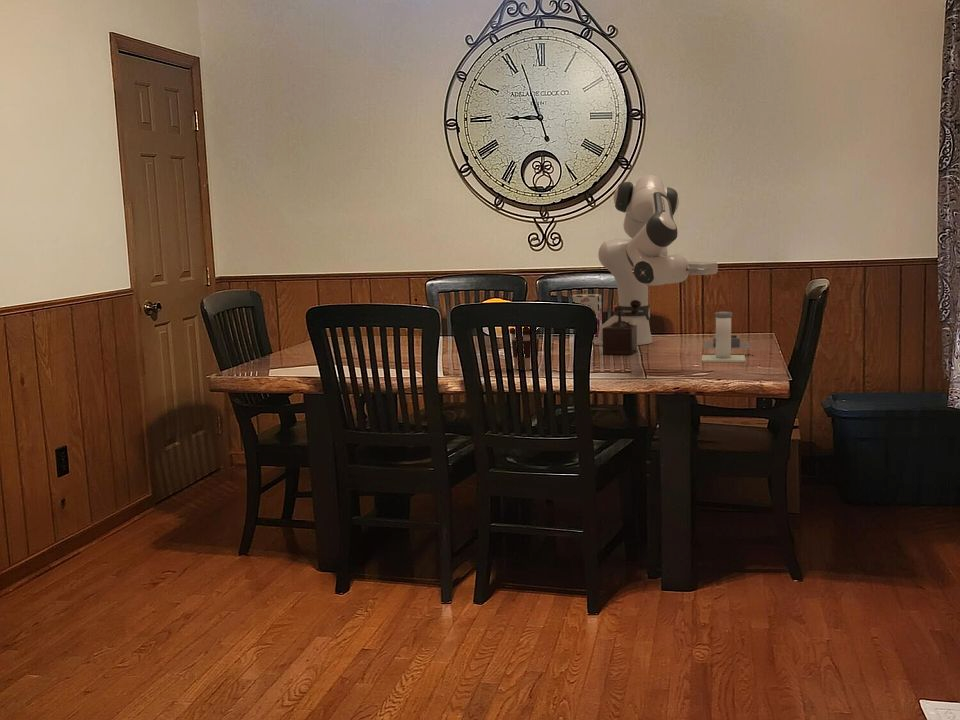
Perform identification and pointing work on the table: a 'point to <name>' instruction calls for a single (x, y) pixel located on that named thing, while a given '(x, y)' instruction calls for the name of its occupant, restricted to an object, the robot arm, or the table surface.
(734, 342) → the housing
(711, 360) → the pad
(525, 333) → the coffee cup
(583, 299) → the candy bar box
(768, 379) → the table surface
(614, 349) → the pepper mill
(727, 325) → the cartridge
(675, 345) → the table surface
